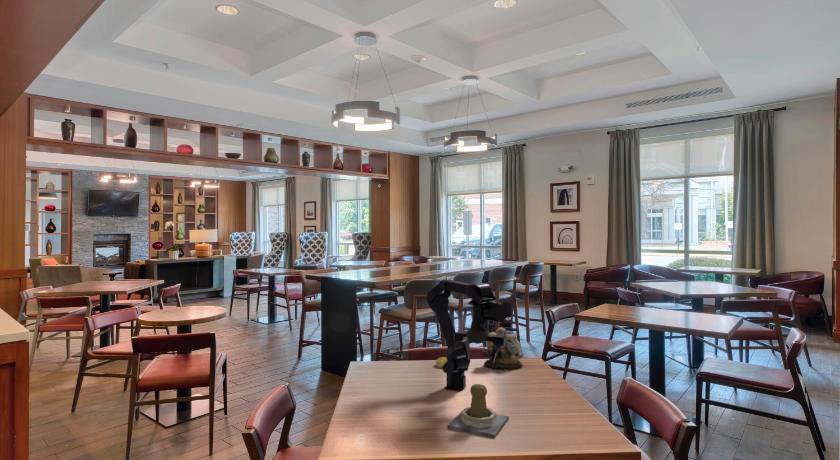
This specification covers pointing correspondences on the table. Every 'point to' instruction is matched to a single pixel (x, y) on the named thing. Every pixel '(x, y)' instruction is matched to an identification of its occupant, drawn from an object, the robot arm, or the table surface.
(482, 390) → the cork
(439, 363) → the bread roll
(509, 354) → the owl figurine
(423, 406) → the table surface
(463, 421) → the socket
